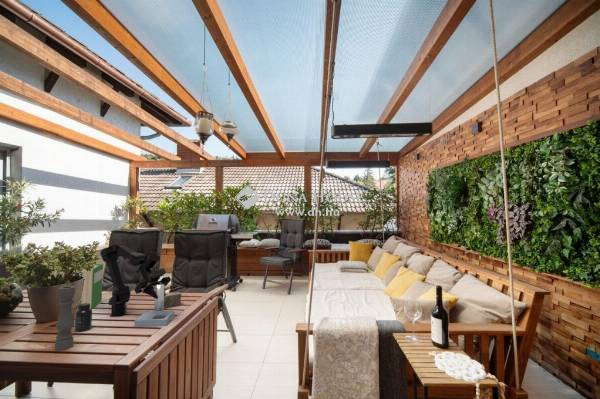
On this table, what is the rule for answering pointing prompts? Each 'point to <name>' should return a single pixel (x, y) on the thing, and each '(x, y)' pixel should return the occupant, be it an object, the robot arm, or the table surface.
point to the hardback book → (92, 286)
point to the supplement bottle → (83, 317)
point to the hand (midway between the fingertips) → (161, 297)
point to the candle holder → (65, 319)
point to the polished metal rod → (159, 297)
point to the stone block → (172, 300)
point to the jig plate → (154, 318)
